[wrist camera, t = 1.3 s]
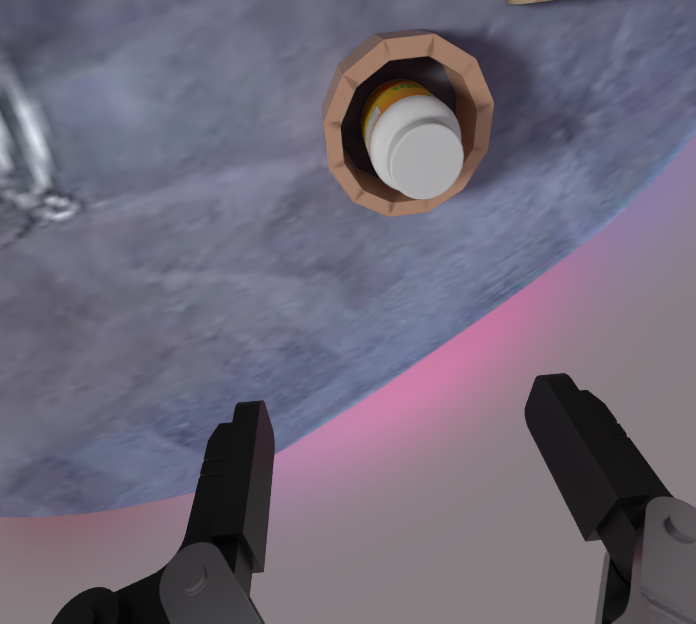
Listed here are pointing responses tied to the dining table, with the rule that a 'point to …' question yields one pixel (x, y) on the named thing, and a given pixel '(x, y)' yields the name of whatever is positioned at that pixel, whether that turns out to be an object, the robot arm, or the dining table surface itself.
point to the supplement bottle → (412, 139)
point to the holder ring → (469, 113)
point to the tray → (524, 1)
